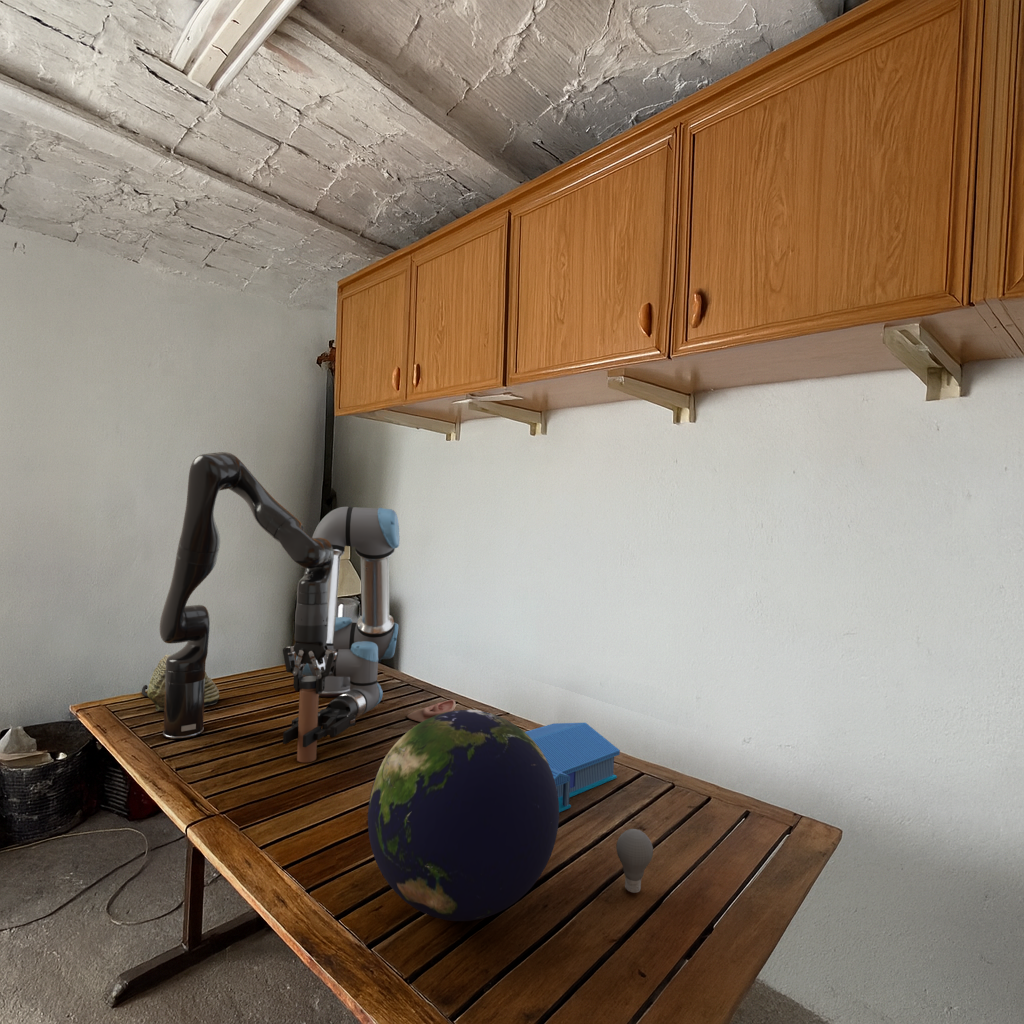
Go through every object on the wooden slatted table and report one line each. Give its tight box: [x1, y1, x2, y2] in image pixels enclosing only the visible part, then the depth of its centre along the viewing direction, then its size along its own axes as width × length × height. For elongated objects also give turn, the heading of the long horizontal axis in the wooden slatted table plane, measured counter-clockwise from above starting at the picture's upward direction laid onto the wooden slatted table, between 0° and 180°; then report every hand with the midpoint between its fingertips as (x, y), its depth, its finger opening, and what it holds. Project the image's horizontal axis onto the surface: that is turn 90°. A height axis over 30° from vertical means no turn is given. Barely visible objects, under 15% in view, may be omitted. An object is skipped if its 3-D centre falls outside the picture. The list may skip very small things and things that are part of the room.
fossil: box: [147, 654, 221, 712], centre depth 185 cm, size 9×18×15 cm, turn 132°
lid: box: [299, 676, 317, 689], centre depth 152 cm, size 5×5×2 cm
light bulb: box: [615, 828, 654, 894], centre depth 106 cm, size 6×6×10 cm
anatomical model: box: [406, 699, 457, 723], centre depth 185 cm, size 13×4×12 cm
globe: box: [367, 709, 560, 922], centre depth 100 cm, size 30×30×30 cm
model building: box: [524, 722, 621, 813], centre depth 143 cm, size 39×24×10 cm, turn 132°
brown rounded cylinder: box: [296, 688, 320, 764], centre depth 152 cm, size 4×4×18 cm
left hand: (309, 691), depth 152 cm, fingers closed on lid, 5 cm apart
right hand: (294, 739), depth 147 cm, fingers closed on brown rounded cylinder, 4 cm apart
